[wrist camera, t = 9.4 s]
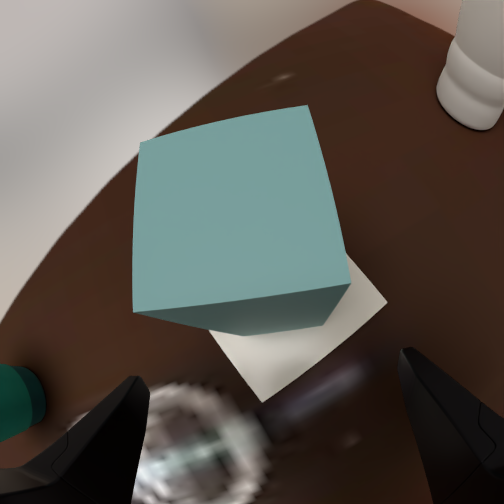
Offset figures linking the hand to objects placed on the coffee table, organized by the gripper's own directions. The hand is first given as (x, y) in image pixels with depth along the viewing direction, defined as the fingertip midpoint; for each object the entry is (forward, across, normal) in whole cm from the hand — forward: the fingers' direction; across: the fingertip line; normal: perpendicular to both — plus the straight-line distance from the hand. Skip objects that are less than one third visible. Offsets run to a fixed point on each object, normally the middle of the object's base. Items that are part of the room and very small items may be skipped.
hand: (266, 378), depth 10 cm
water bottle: (+21, -21, -7) cm, 31 cm away
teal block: (+10, 0, +3) cm, 10 cm away
